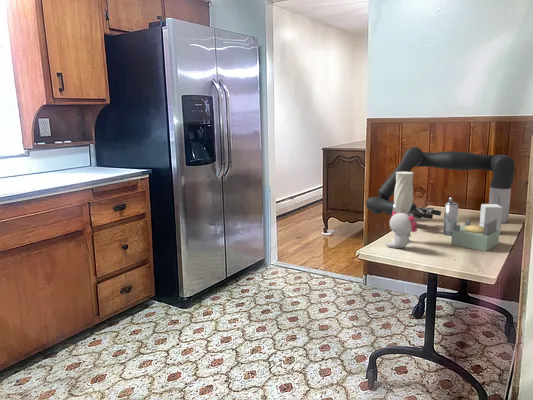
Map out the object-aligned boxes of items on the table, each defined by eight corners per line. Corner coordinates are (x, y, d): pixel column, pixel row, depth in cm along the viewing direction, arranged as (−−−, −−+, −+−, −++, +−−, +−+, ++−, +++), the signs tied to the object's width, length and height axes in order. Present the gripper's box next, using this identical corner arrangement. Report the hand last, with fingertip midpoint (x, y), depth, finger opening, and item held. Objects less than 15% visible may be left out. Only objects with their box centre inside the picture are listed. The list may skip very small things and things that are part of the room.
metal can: (446, 231, 206) (448, 195, 202) (458, 233, 202) (460, 196, 198) (441, 234, 202) (443, 197, 198) (453, 236, 198) (455, 198, 195)
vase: (388, 238, 197) (391, 171, 191) (406, 237, 198) (409, 171, 192) (395, 244, 188) (398, 174, 182) (414, 243, 189) (418, 173, 183)
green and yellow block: (464, 237, 196) (466, 213, 194) (498, 243, 187) (500, 218, 184) (451, 244, 187) (452, 219, 184) (485, 251, 177) (488, 224, 175)
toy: (420, 251, 179) (422, 215, 176) (406, 254, 175) (407, 217, 172) (395, 242, 190) (396, 208, 187) (381, 245, 187) (382, 211, 184)
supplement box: (500, 234, 200) (503, 207, 197) (482, 234, 201) (485, 206, 198) (495, 230, 207) (498, 203, 204) (478, 229, 208) (480, 203, 206)
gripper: (397, 204, 211) (430, 209, 199) (411, 200, 221) (443, 204, 209) (396, 220, 212) (429, 225, 201) (411, 214, 222) (442, 219, 211)
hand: (436, 214), depth 205 cm, fingers open, 8 cm apart
